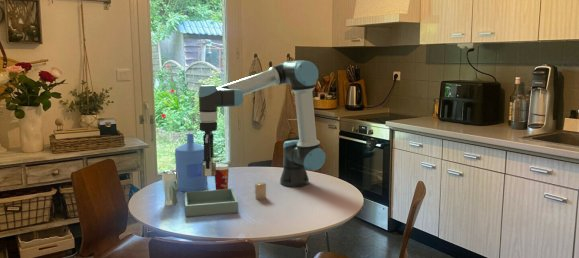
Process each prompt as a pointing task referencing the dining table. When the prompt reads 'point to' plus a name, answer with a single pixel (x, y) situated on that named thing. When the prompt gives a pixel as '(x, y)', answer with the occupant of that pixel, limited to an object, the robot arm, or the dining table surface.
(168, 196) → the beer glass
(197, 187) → the water jug
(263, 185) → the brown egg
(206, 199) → the tote
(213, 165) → the walnut cube
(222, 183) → the paper cup
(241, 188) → the dining table surface
